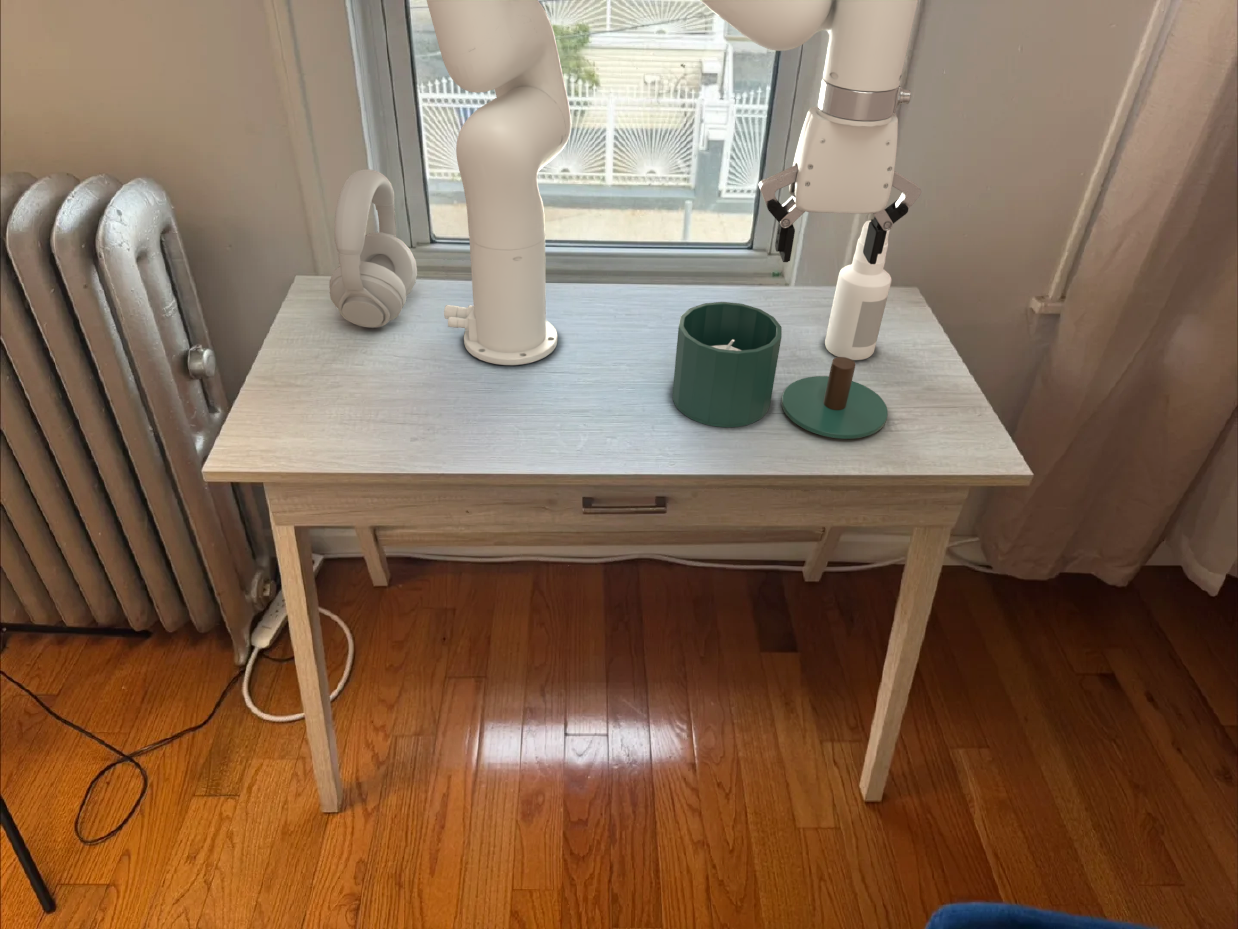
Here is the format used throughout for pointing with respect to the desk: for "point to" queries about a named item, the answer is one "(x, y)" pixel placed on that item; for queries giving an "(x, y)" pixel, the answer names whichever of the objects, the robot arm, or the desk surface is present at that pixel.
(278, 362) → the desk surface
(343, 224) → the headphones
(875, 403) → the lid
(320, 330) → the desk surface
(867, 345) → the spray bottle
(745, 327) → the pot
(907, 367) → the desk surface
